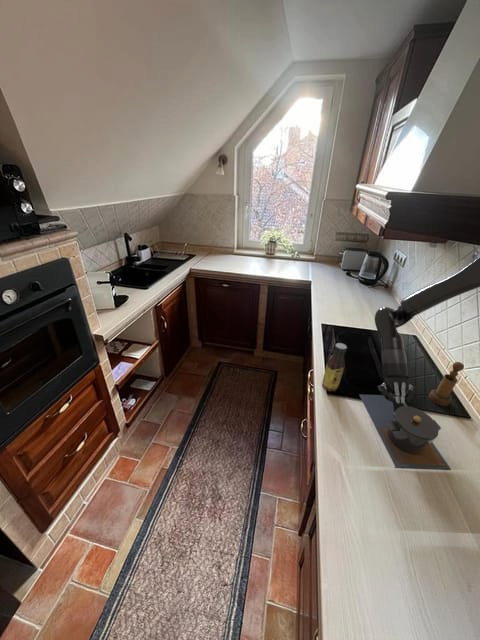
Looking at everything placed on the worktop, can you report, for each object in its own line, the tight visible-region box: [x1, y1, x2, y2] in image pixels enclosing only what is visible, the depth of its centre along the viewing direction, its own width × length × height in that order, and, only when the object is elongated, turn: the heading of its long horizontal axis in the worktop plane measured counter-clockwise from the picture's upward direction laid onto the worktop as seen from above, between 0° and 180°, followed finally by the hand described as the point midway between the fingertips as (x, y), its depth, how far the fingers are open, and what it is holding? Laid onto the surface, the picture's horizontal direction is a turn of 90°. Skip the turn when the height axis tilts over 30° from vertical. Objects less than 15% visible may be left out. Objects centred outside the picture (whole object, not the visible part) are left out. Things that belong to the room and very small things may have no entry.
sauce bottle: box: [321, 342, 348, 393], centre depth 96 cm, size 7×6×20 cm
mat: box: [358, 393, 452, 471], centre depth 85 cm, size 16×28×1 cm, turn 179°
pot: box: [387, 405, 442, 455], centre depth 79 cm, size 15×12×10 cm
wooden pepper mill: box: [428, 361, 465, 407], centre depth 92 cm, size 7×6×18 cm
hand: (399, 415), depth 85 cm, fingers closed
